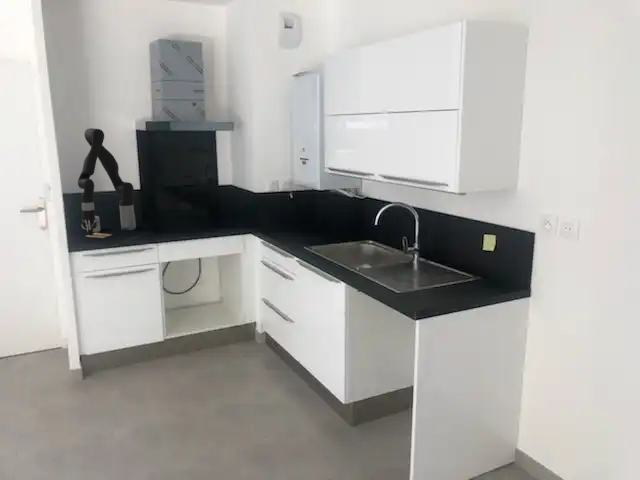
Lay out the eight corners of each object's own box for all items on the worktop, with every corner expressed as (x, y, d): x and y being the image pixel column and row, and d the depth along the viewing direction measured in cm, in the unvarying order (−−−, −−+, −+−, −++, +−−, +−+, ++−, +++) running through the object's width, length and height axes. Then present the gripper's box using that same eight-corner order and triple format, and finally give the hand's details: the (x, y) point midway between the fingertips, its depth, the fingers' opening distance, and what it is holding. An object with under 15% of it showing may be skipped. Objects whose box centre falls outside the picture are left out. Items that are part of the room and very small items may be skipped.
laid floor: (95, 235, 352) (95, 232, 352) (113, 236, 348) (113, 234, 348) (84, 238, 342) (84, 236, 341) (102, 240, 338) (102, 238, 338)
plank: (95, 234, 351) (95, 232, 351) (104, 235, 350) (104, 233, 349) (85, 237, 342) (85, 235, 342) (94, 238, 340) (94, 237, 340)
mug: (102, 231, 363) (101, 215, 360) (98, 234, 354) (96, 218, 352) (84, 231, 362) (83, 216, 359) (80, 234, 354) (78, 218, 351)
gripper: (100, 208, 342) (103, 234, 346) (83, 207, 345) (86, 233, 349) (93, 210, 335) (95, 237, 339) (75, 209, 338) (78, 235, 342)
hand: (90, 235), depth 344 cm, fingers closed
